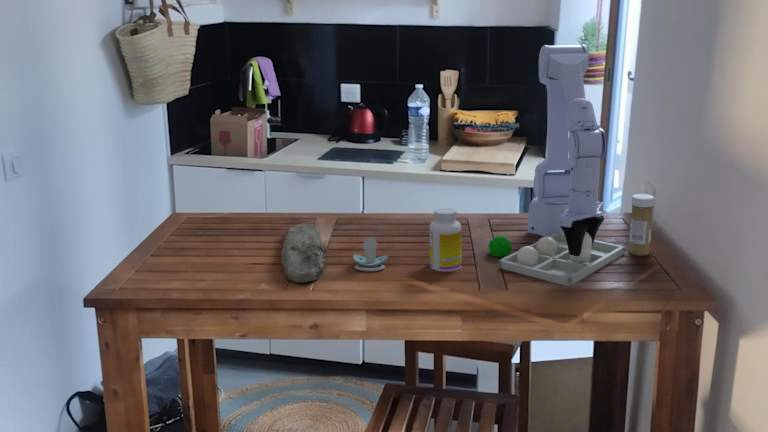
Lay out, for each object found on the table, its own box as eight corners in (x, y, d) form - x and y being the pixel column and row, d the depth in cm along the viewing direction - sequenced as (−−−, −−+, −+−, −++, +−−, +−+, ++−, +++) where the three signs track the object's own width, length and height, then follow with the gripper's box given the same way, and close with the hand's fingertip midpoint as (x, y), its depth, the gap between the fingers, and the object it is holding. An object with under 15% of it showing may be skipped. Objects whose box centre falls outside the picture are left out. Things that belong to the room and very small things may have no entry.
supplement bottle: (467, 268, 165) (468, 210, 162) (447, 277, 161) (447, 217, 157) (443, 261, 170) (443, 204, 166) (422, 269, 165) (422, 210, 162)
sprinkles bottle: (654, 256, 171) (659, 196, 167) (640, 260, 168) (645, 200, 164) (636, 250, 174) (641, 191, 170) (623, 254, 172) (627, 195, 168)
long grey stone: (323, 237, 192) (283, 241, 191) (321, 216, 191) (280, 220, 190) (331, 282, 158) (281, 288, 157) (328, 257, 157) (278, 263, 156)
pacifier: (386, 273, 164) (388, 263, 170) (385, 245, 162) (388, 235, 168) (351, 273, 165) (354, 262, 170) (350, 245, 163) (353, 235, 168)
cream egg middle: (532, 257, 169) (533, 237, 168) (542, 251, 172) (543, 232, 171) (550, 261, 166) (551, 241, 165) (560, 256, 170) (561, 236, 168)
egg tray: (498, 271, 164) (498, 260, 163) (556, 241, 181) (557, 231, 180) (569, 290, 153) (569, 278, 153) (624, 257, 170) (625, 246, 170)
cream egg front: (512, 267, 164) (513, 247, 162) (523, 261, 167) (524, 241, 165) (530, 271, 161) (531, 251, 160) (542, 265, 164) (542, 245, 163)
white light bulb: (565, 259, 164) (566, 231, 162) (575, 254, 167) (577, 226, 165) (584, 264, 161) (586, 235, 159) (594, 258, 164) (596, 230, 162)
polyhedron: (505, 263, 168) (506, 242, 167) (484, 259, 171) (484, 238, 169) (514, 256, 172) (515, 235, 171) (494, 252, 175) (494, 232, 173)
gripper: (584, 199, 152) (580, 265, 156) (618, 184, 162) (614, 246, 166) (552, 193, 156) (549, 258, 160) (587, 179, 167) (583, 240, 171)
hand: (580, 251), depth 164 cm, fingers closed on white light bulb, 4 cm apart
